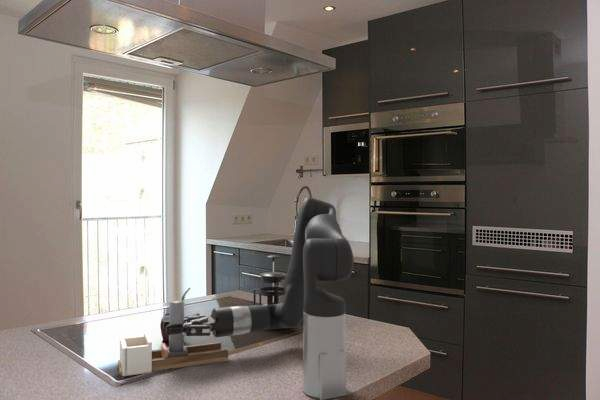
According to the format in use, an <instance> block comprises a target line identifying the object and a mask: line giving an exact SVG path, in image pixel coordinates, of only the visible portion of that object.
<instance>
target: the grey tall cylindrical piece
mask: <svg viewBox="0 0 600 400" xmlns="http://www.w3.org/2000/svg"><path fill="white" fill-rule="evenodd" d="M168 307H169V308H168V310H169V311H168V313H169V325H175V324H181V325H182V324H184V316H185V301H184V300H183V301H181V300H180V299H179V300H170V301H169V305H168ZM184 343H185V335H184V334H182V333H181V334H172V335H169V343H168V346H167V345H166V343H162V342H161V343H160V347H161V348H160V349H161V356H162V358H168V357H175V356H183V355H188V350H187V348H186V347H185V346H186V345H185V344H184Z"/></svg>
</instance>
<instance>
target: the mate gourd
mask: <svg viewBox="0 0 600 400" xmlns="http://www.w3.org/2000/svg"><path fill="white" fill-rule="evenodd" d="M190 290H191V287H188V289H186V290H185V292H184V293H183V295H182V296H181V300H180V301H184V300H185V298H186V295H187V294H188V293H189V291H190ZM160 320H161V321H160V326H159V327H160V333H161V338H162V340H161V344H162V343H165V344H166V343H167V344H169V335H167V334H166V330H164V329H163V322H164V321H169V312H167V313H165V314H164V315H163V316H162V317H161V319H160ZM184 323H187V321H184Z"/></svg>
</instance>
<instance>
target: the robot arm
mask: <svg viewBox="0 0 600 400" xmlns="http://www.w3.org/2000/svg"><path fill="white" fill-rule="evenodd" d="M341 229H342V228H341V226H340V224H339V223H338V219H337V210H336V207H335V206H334V204H331V203H330V202H326V201H323V200H321V199H319V198H318V199H317V198H314V197H310V196H307V197H305V198H303V201H302V202H301V204H300V207H299V209H298V213H297V217H296V224H295V229H294V235H293V241H292V247H291V255H290V259H289V264H288V268H287V272H286V276H285V281H284V287H283V288H284V291H285V292H286V293H285V299H284V303H279V304H272V305H266V306H264V305H263V304H261V305H259V304H256V305H254V304H252V305H236V306H235V305H234V306H232V305H231V306H224V307H222V306H221V307H214V308H212V310H211V314H210V315H206V314H200V313H193V314H187V315H184V321H186V323H184V324H182V325H181V324H175V325H169V321H164V322H163V329H164V330H166V334H167V335H172V334H181V333H182V334H184V336H186V337H210V336H211V333H212V335H213V337H215V338H222V337H230V336H231V337H232V336H233V337H234V336H239V335H240V336H241V335H244V334H249V333H255V332H257V333H258V332H262V331H266V330H269V329H276V330H279V329H278V328H283V329H291V328H296V327H298V326H299V325H301V323H302V322H303V323H302V392H303V393H304V394H305V395H306V396H309V397H311V398H316V399H318V400H329V399H334V398H339V397H345V396H346V395H347V351H346V308H347V306H346V304H347V303H346V300H345V299H344V298H343V297H341V296H339V295H337V294H334V293H331V292H330V291H329V292H328V291H327V290H325V289H323V288H322V287H321V286H319V282H320V281H321V282H339V281H340V282H342V281H344V280H345V281H346V280H347V279H349V278H350V276H351V275H352V273H353V270H354V261H355V260H354V254H353V253H354V252H353V250H352V247H351V245H350V242H349V241H348V239H347V238H346V237H345V236H344V234H343V233H342V230H341Z"/></svg>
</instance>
